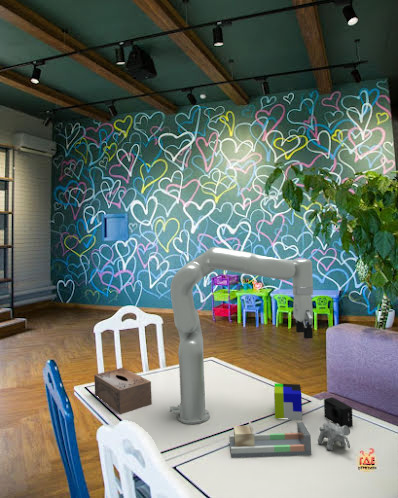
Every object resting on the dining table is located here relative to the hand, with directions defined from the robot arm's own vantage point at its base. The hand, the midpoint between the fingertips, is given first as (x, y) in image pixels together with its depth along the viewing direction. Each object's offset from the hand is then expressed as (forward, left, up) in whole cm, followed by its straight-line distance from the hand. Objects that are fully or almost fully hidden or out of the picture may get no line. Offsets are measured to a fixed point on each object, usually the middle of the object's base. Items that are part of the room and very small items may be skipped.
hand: (304, 335), depth 150 cm
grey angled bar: (-7, -24, -30) cm, 39 cm away
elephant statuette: (+3, -25, -31) cm, 40 cm away
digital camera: (+9, -7, -31) cm, 33 cm away
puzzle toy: (-7, +1, -31) cm, 32 cm away
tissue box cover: (-76, +20, -31) cm, 84 cm away
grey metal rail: (-19, -24, -31) cm, 43 cm away
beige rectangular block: (-27, -24, -29) cm, 47 cm away
